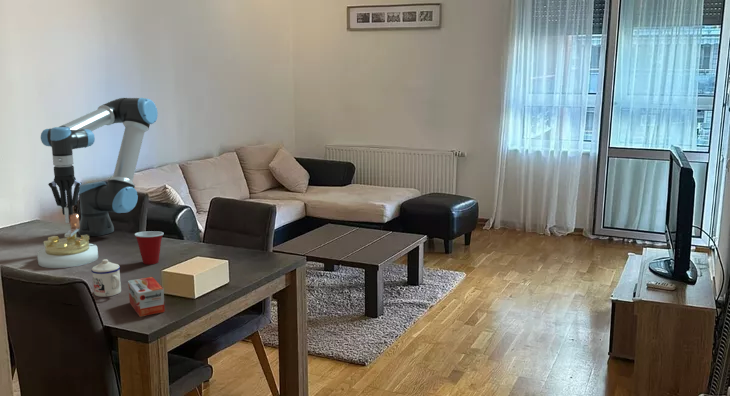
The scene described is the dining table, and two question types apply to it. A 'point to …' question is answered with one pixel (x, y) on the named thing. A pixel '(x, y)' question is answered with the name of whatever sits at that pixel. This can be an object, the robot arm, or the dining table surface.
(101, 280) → the teacup with lid
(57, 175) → the robot arm
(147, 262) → the plastic cup
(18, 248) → the dining table surface
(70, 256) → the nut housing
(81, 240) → the ring nut
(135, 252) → the dining table surface
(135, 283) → the medicine box
